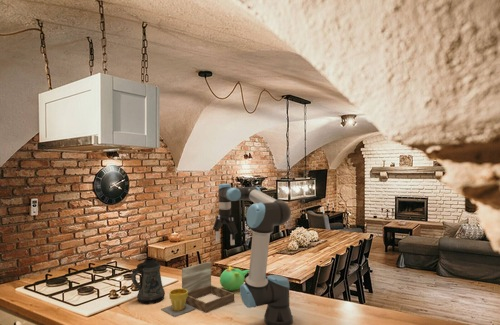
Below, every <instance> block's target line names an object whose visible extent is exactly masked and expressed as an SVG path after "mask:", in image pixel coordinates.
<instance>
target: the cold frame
mask: <svg viewBox="0 0 500 325" xmlns="http://www.w3.org/2000/svg"><path fill="white" fill-rule="evenodd" d="M181 288H182V289H186V290H188V297H187V298H186V303H185V304H187V305H190V306H192V307H194V308H196V309H195V310H199V311H201V312H203V313H205V314H206V313H209V312H211V311H215V310H217V309H219V308H220V309H221V308H222V307H225V306H227V305H229V304H233V303H234V302H235V293H234V292H233V291H232V292H231V291H230V290H226V289H224V288H221V287H218V286H215V285H212V261H207V262H203V263H199V264H195V265H191V266H188V267H187V266H186V267H184V268H181ZM207 295H214V296H217V297H219V298H216V299H213V300H210V301H208V302H205V301H204V300H203V301H202V300H200V298H202V297H205V296H207Z"/></svg>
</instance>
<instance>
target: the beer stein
mask: <svg viewBox="0 0 500 325" xmlns="http://www.w3.org/2000/svg"><path fill="white" fill-rule="evenodd" d="M138 274H140V277H139V278H140V280H139V282H138V281H137V278H136V277H137V276H138ZM130 276H131V279H130V280H131V282H132V284H133V285H134V286H135V287H136V288H137V289H138V293H137V295H136V296H137V301H138V303H139V304H142V305H154V304H155V305H156V304H158V303H160V302H162V301H164V299H165V295H166V291H165V289H164V286H163V282H162V276H161V263H159V262H158V261H157V260H155V259H154V258H152V257H148V258H146V259H144V261H143V262H141V263H138V264H137V265H136V268H135V269H133V271H132V272H131V275H130Z"/></svg>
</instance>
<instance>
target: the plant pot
mask: <svg viewBox="0 0 500 325" xmlns="http://www.w3.org/2000/svg"><path fill="white" fill-rule="evenodd" d="M168 294H169V295H168V296H169V300H170V302H171V305H172V308H173V310H175V311H180V310H183V309H184V308H185V303H186V298H187V297H188V290H186V289H182V287H181V288H180V287H179V288H174V289H171V290H170V291H169V293H168Z"/></svg>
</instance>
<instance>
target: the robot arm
mask: <svg viewBox="0 0 500 325" xmlns="http://www.w3.org/2000/svg"><path fill="white" fill-rule="evenodd" d="M217 191H218V215H216V217H215V220H214V224H213V227H212V230H213V231H214V232H215V234H214V235H215V242H216V243H218V242H220V241H221V235H220V234H221V233H220V232H221V231H220V230H221V228H222V226H223V225H226V227H228V230H229V232H230V246H235V245H236V244H235V240H236V234H238V233H239V231H238V229H237V226H236V222H235V217H234V216H233V217H231V215H232V202H236V201H247V200H249V201H250V202H253V204H251V205H250V206H249V207H248V209H247V211H246V218H245V219H246V223H247V226H248V227H249V230H250V231H251V232H252V236H251V248H250V249H251V250H250V260H249V269H248V270H249V272H248V276H246V277H245V280H244V283H243V284H242V285H241V286H240V288H239V293H240V294H239V295H240V298H241V300H242V303H243V305H244V306H245V307H246V308H249V309H251V308H257V307H261V306H265V305H266V309H265V313H264V316H263V317H264V318H263V321H264V323H265V325H292V324H293V322H294V317H293V314H292V311H291V307H290V280H289V278H288V277H285V276H282V275H279V274H268V275H267V267H268V257H269V246H270V237H271V234H273V233H274V231H275V230H274V228H275V226H283V225H284V224H285V223H287V222H289V220H290V218H291V215H292V209H291V206H290V205H289V204H288V202H286V201H284V200H282V199H276V198H274V197H272V196H270V195H268V194H266V193H264V192H263V191H261V188H260V187H258V186H245V187H241V186H240V187H239V186H237V187H232V185H231V183H220V184H219V185H218V189H217ZM266 275H267V276H266Z"/></svg>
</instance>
